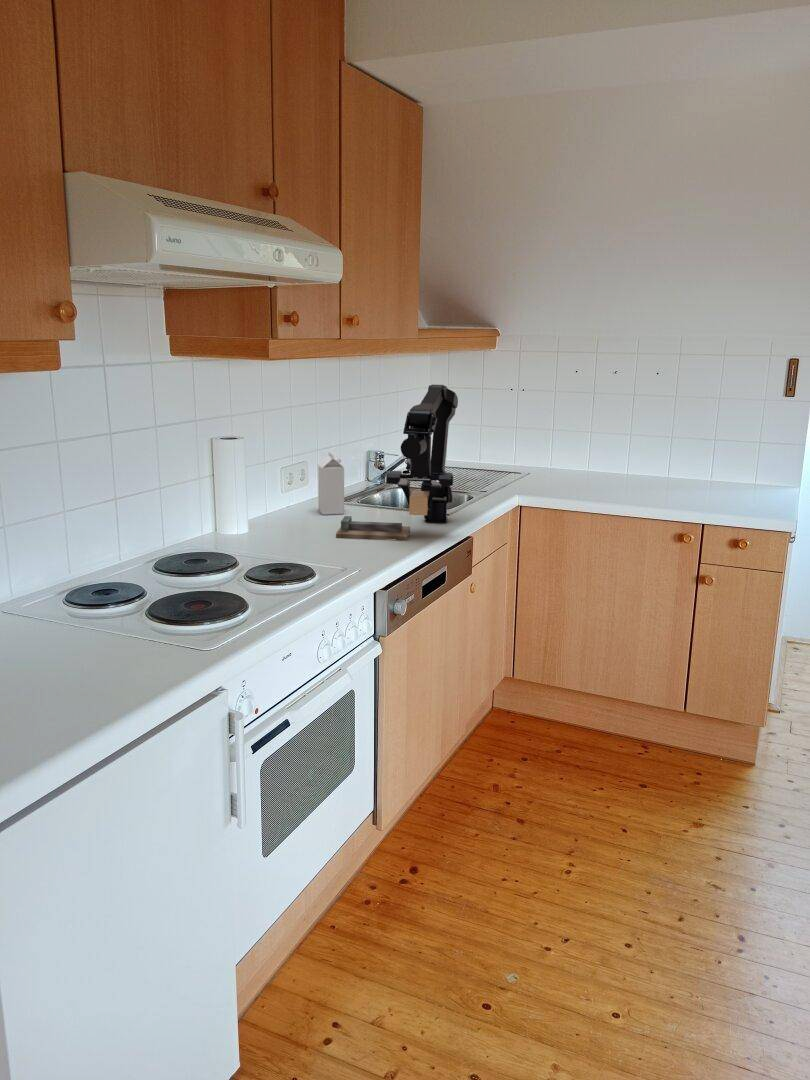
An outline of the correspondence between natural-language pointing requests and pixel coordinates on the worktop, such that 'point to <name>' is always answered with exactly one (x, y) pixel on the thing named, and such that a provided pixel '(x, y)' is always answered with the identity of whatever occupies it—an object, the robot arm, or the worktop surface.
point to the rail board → (372, 536)
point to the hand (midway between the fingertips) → (419, 508)
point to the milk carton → (331, 486)
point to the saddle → (419, 503)
